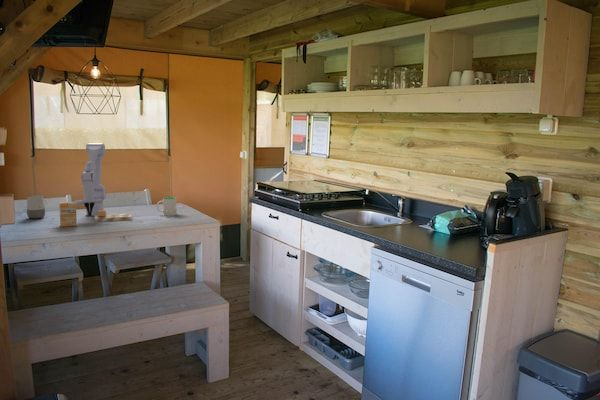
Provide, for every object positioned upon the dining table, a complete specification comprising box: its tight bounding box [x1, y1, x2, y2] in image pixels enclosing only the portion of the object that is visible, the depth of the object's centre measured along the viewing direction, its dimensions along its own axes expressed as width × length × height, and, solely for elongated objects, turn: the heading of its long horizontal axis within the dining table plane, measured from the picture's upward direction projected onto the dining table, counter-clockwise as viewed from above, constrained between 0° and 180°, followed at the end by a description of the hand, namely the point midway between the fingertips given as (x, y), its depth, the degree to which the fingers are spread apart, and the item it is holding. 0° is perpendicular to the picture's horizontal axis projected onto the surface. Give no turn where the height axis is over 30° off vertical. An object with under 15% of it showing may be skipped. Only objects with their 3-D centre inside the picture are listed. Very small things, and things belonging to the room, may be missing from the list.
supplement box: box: [58, 201, 78, 227], centre depth 266 cm, size 8×5×13 cm, turn 118°
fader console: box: [94, 213, 133, 223], centre depth 287 cm, size 20×10×2 cm, turn 113°
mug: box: [156, 196, 178, 216], centre depth 304 cm, size 12×8×10 cm
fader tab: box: [98, 209, 107, 216], centre depth 284 cm, size 4×4×3 cm
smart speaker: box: [26, 194, 46, 220], centre depth 284 cm, size 10×9×14 cm
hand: (89, 215), depth 282 cm, fingers closed
